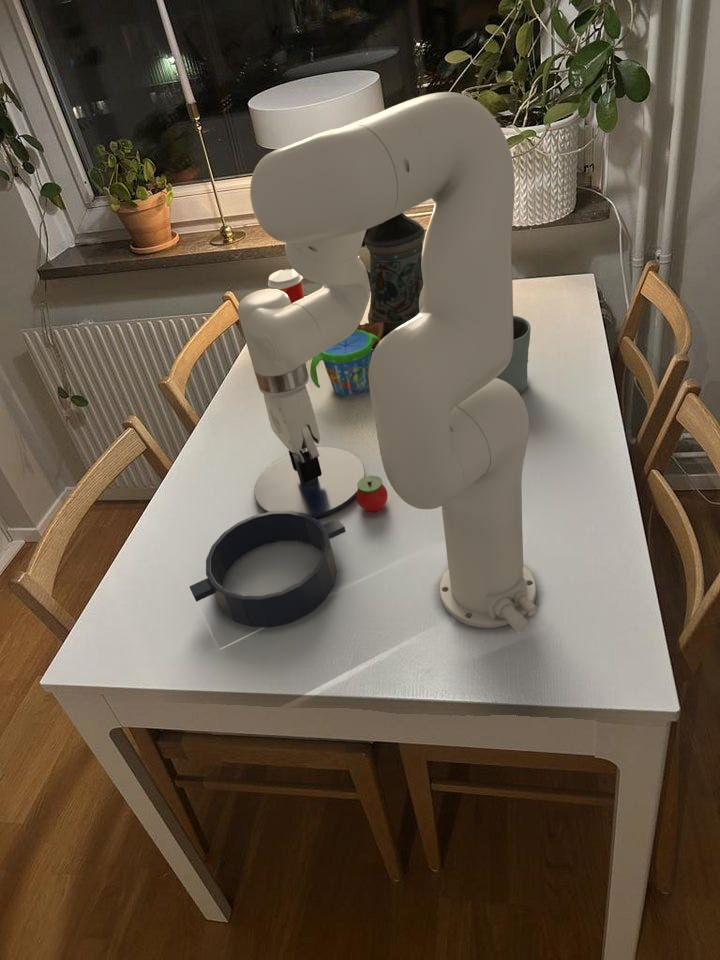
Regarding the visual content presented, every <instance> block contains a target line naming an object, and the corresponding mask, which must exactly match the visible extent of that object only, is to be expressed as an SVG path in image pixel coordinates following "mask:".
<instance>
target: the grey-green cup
mask: <svg viewBox="0 0 720 960" xmlns="http://www.w3.org/2000/svg"><path fill="white" fill-rule="evenodd" d="M531 329H532V328H531V324H530V322H529V321H528V320H527V319H525V318H524V317H521V316H518V315H514V314H513V352H512V357H511V360H510V362H509V364H508V366H507V367H506V368H505V369H504V371H503V372H502V373H500V374H499V375H498V376H497V377H496V378H498V379H500V380H503V381H505V382H507V383H509V384H510V385H511V386H512V387H514V388H515V389H516V390H517V392H518V393H519V394H520V395H521V394H522V393H523V392H524V391H525V390H526V388H527V384H528V362H529V349H530V348H529V347H530V343H531V342H530V341H531Z"/></svg>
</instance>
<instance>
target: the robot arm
mask: <svg viewBox="0 0 720 960" xmlns="http://www.w3.org/2000/svg"><path fill="white" fill-rule="evenodd" d="M514 167H515V166H514V162H513V156H512V153H511V149H510V146H509V143H508V140H507V138H506V136H505V134H504V131H503V130H502V127H501V126H500V124H499V122H498V121H497V120H496V118H495V117H494V116H493V115H492V113H491V112H490V111H489V110H488V108H486V107H485V106H484V105H483V104H482V103H481V102H479V101H477V100H476V99H474V98H472V97H470V96H468V95H466V94H462V93H459V92H454V91H453V92H452V91H442V92H434V93H428V94H423V95H419V96H417V97H413V98H410V99H408V100H406V101H405V100H404V101H402V102H401V103H398V104H396V105H393V106H390V107H388V108H385V109H383V110H381V111H379V112H376V113H374V114H371V115H369V116H366V117H363V118H361V119H359V120H356V121H353V122H350V123H349V124H348V123H347V124H346V125H343V126H341V127H336V128H331V129H327V130H324V131H321V132H318V133H316V134H313V135H311V136H308V137H306V138H303V139H299V140H298V141H296V142H293V143H290V144H288V145H285V146H283V147H280V148H278V149H275V150H273V151H271V152H269V153H266V154H265V155H264V156H263V157H261V159H260V160H259V161H258V163H257V164H256V166H255V168H254V170H253V172H252V176H251V178H250V179H251V180H250V186H249V192H250V194H249V196H250V197H249V198H250V202H251V203H250V204H251V208H252V211H253V214H254V216H255V219H256V221H257V222H258V224H259V226H260V227H261V228H262V230H263V231H264V232H265V233H266V234H267V236H269V237H271V238H272V239H274V240H276V241H278V242H281V243H284V253H285V257H286V259H287V262H288V263H289V265H290V267H291V269H294V270H295V271H296V272H297V273H298V274H299V275H301V276H302V277H303V279H306V280H308V281H310V282H313V283H316V284H320V285H322V287H321V288H320V289H318V290H316V291H314V292H311V293H310V294H308V295H306V296H304V298H302V299H300V300H298V301H296V302H294V303H292V304H291V301H290V299H289V297H288V295H287V294H286V293H284V292H283V291H281V290H278V289H271V288H265V289H260V290H256V291H253V292H250V293H249V294H247V295H246V296H244V297H243V298H242V299H241V300H240V301H239V303H238V306H237V315H238V319H239V322H240V325H241V330H242V333H243V336H244V340H245V343H246V346H247V350H248V353H249V357H250V360H251V364H252V367H253V372H254V374H255V378H256V381H257V385H258V388H259V391H260V393H262V394H263V399H264V404H265V406H266V412H267V416H268V421H269V424H270V427H271V430H272V432H273V433H274V434H275V436H276V437H277V438H278V440H279V441H281V443H282V444H283V445H284V447H286V449H287V450H288V454H289V455H290V458H291V462H292V465H293V469H294V470H295V471H297V468H296V465H295V461H294V458H293V454H292V453H297V454H298V457H299V460H300V461H298V464H299V468H300V472H301V476H302V479H303V481H304V482H308V481H310V480H313V479H315V478H317V477H319V476H321V475H322V472H321V468H320V464H319V460H318V456H319V453H318V450H317V446H316V445H318V444H319V443H320V441H321V433H320V429H319V426H318V422H317V418H316V417H317V416H316V414H315V410H314V407H313V405H312V401H311V397H310V395H309V392H308V389H307V386H306V385H307V384H308V382H309V381H310V377H309V373H308V368H307V364H306V363H307V362H309V361H312V359H313V358H314V357H316V356H317V355H319V354H320V353H322V352H324V351H325V350H327V349H329V348H331V347H332V346H334V345H336V344H338V343H340V342H341V341H343V340H345V339H346V338H348V337H349V336H351V335H352V334H353V333H354V332H355V330H356V329H357V328H358V326H359V325H361V322H362V320H363V318H364V316H365V313H366V310H367V307H368V305H369V302H370V299H371V290H370V283H369V278H368V274H367V271H366V268H367V267H366V265H365V264H364V262H363V261H362V259H361V258H360V252H361V248H362V247H363V246H362V242H363V239H364V236H365V233H366V230H367V229H369V228H372V227H374V226H377V225H379V224H381V223H383V222H385V221H387V220H389V219H391V218H393V217H395V216H397V215H399V214H401V213H403V214H404V213H406V212H407V211H409V210H411V209H413V208H415V207H417V206H419V205H421V204H423V203H425V202H427V201H429V200H432V201H433V203H434V206H433V210H432V214H431V216H430V219H429V223H428V225H427V228H426V231H425V233H424V238H423V242H422V244H423V249H422V259H421V269H422V276H423V285H424V302H423V307H422V309H421V311H420V312H419V313H418V315H417V316H416V317H414V318H413V319H411V320H409V321H407V322H406V323H404V324H403V325H401V326H399V327H398V328H396V329H395V330H393V331H392V332H390V333H389V334H388V335H386V336H385V337H384V338H383V339H382V340H381V341H380V342H379V343H378V344H376V345H375V348H374V350H373V351H372V353H371V356H372V357H371V360H370V365H369V373H368V376H369V387H370V388H369V393H370V400H371V406H372V412H373V417H374V419H373V420H374V423H375V430H376V436H377V443H378V448H379V453H380V458H381V463H382V467H383V470H384V472H385V475H386V478H387V481H388V482H389V484H390V486H391V487H392V489H393V490H394V492H395V493H396V494H397V496H398V497H399V498H400V499H401V500H402V501H403V502H405V504H407V505H409V506H410V507H413V508H415V509H419V510H434V509H437V508H440V507H441V514H442V522H443V531H444V539H445V540H444V541H445V549H446V558H447V566H448V568H447V569H446V570H445V571H444V573H443V575H442V576H441V578H440V582H439V599H440V601H441V603H442V607H444V609H445V610H446V611H447V613H449V615H450V616H451V617H452V618H454V619H455V620H457V621H458V622H460V623H463V624H465V625H467V626H471V627H475V628H482V629H483V628H484V629H491V628H493V629H494V628H501V627H504V626H508V625H510V627H512V629H513V630H514V631H515V632H516V633H517V634H520V633H523V632H525V631H526V630H527V629H528V627H529V626H530V621H529V620H528V619H527V618H526V617H525V615H528V616H530V617H531V616H534V615H535V614H536V613H537V612H538V606H536V605H535V604H534V603H535V600H536V597H537V583H536V581H535V576H534V575H533V573H532V571H531V570H529V569H530V568H528V567H527V566H526V565H525V564H524V541H523V540H524V536H523V469H524V468H523V467H524V463H525V457H526V452H527V446H528V441H529V435H530V434H529V433H530V419H529V413H528V412H529V411H528V409H527V405H526V403H525V401H524V399H523V397H522V396H521V393H520V394H519V393H518V392H517V390H516V389H515V388H514V387H512V386H511V385H510V384H509V383H507V382H505V381H503V380H500V379H498V378H496V377H497V376H498V375H499V374H500V373H502V372H503V371H504V369H505V368H506V367H507V366H508V364H509V362H510V360H511V357H512V352H513V315H514V293H513V292H514V291H513V289H514V288H513V285H514V284H513V266H512V265H513V264H512V240H513V239H512V238H513V224H514V223H513V222H514V211H515V194H516V193H515V189H516V188H515V187H516V186H515V185H516V183H515V168H514ZM358 255H359V256H358ZM364 265H365V266H364ZM365 267H366V268H365ZM304 448H307V451H306V452H304V453H302V449H304Z"/></svg>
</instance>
